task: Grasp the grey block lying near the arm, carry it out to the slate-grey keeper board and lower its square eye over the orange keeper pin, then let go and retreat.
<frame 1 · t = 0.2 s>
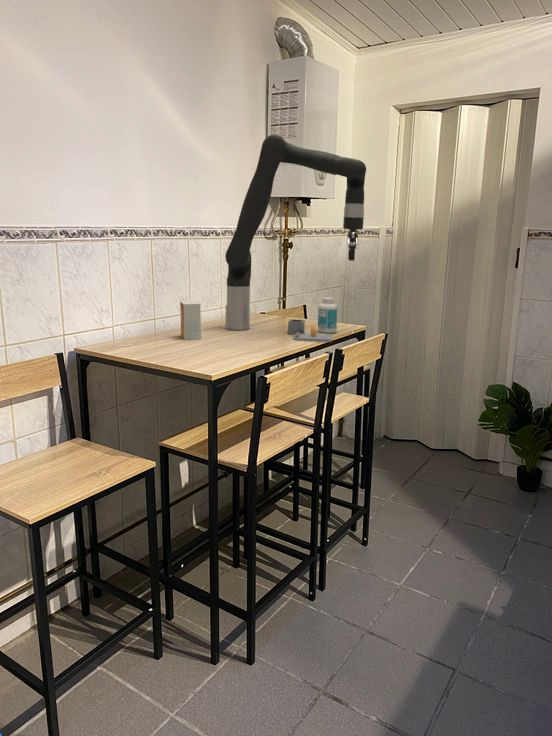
hand: (351, 259, 222), 28 cm above the table, fingers open, 8 cm apart
small box: (190, 337, 214), on the table
pill bottle: (326, 332, 230), on the table
grey block: (296, 333, 225), on the table
keeper: (313, 338, 215), on the table
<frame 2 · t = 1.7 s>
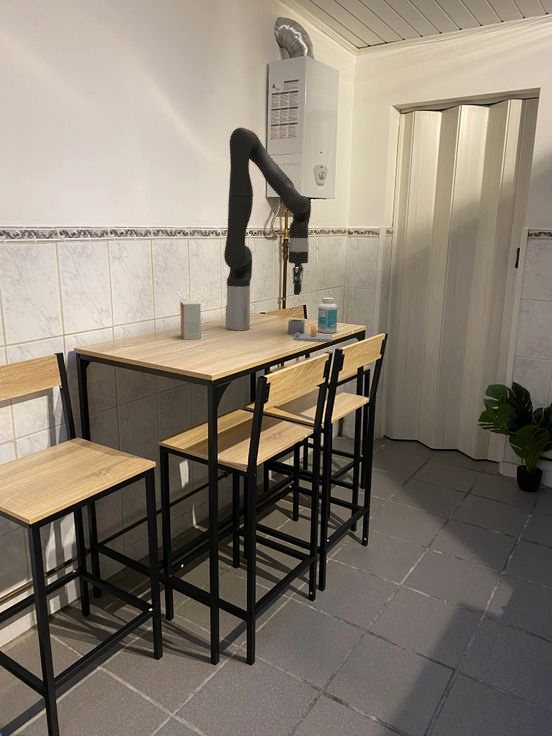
hand: (297, 293, 222), 16 cm above the table, fingers open, 8 cm apart
nothing on the table moved.
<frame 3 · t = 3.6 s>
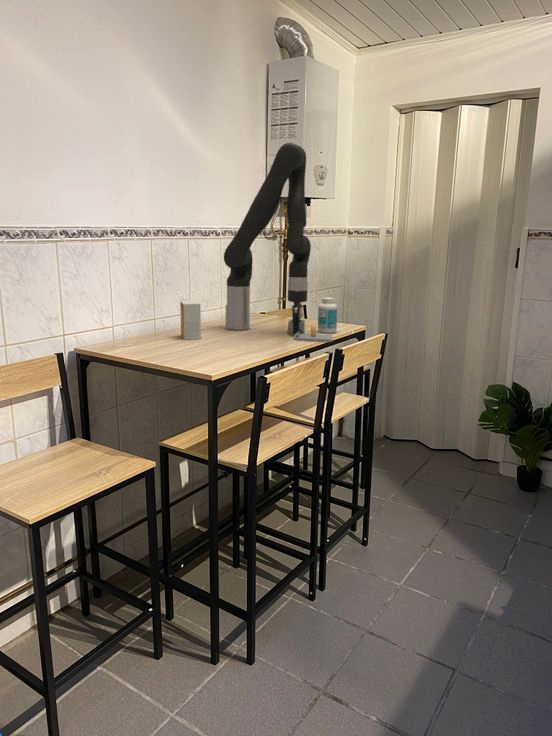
hand: (296, 331, 225), 1 cm above the table, fingers closed on grey block, 6 cm apart
grey block: (296, 333, 225), on the table, touching gripper
everything else where it was.
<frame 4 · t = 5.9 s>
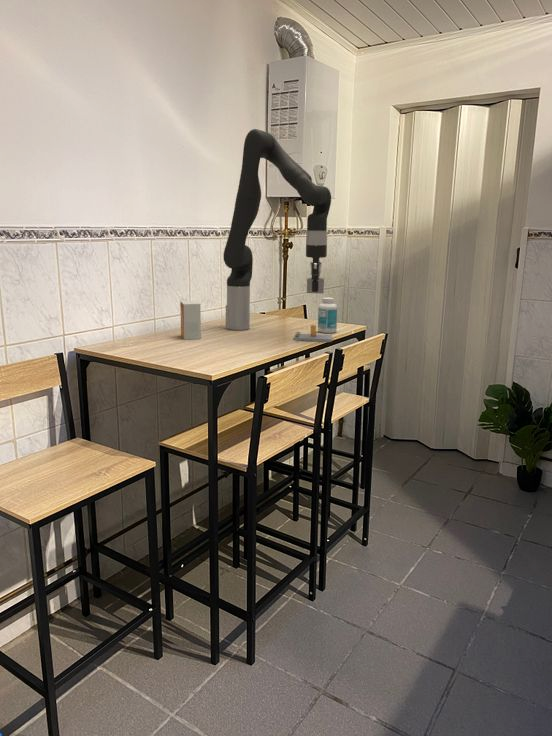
hand: (315, 290, 211), 18 cm above the table, fingers closed on grey block, 6 cm apart
grey block: (315, 292, 211), point 17 cm above the table, touching gripper
everything else where it was.
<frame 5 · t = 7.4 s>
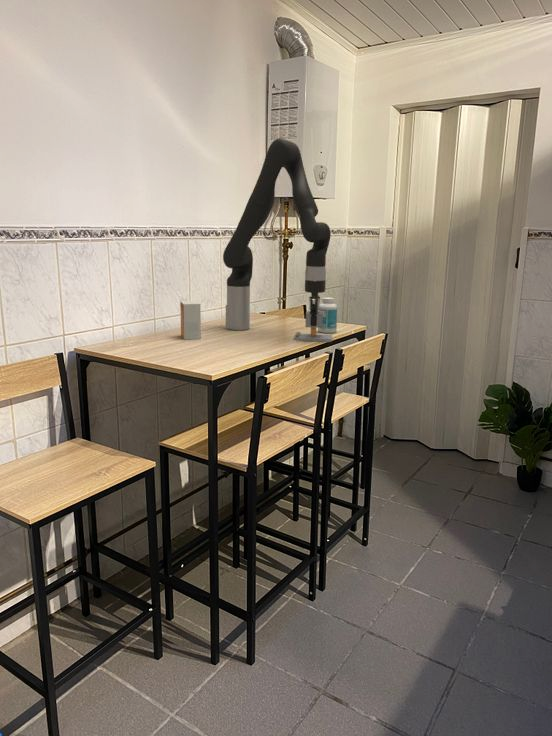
hand: (313, 324, 214), 6 cm above the table, fingers closed on grey block, 6 cm apart
grey block: (313, 326, 214), point 5 cm above the table, touching gripper
everything else where it was.
when the fingers open (3 cm above the table, at t = 8.5 s): grey block stays where it is, resting on keeper.
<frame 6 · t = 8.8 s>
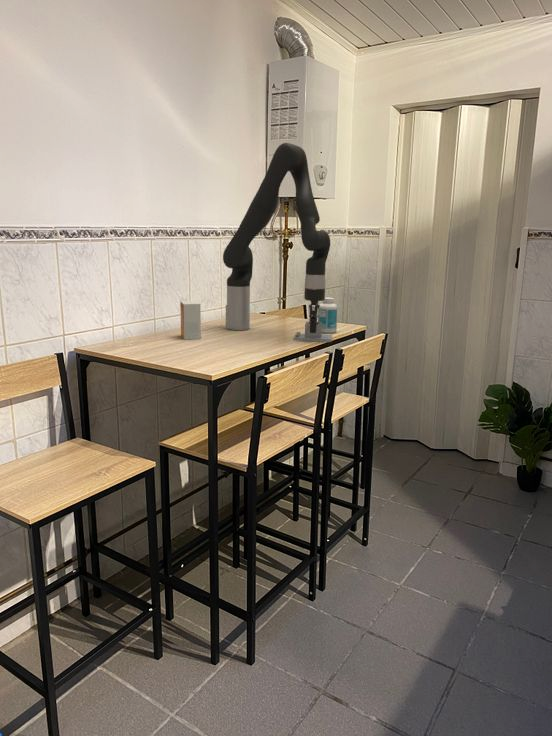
hand: (313, 330, 214), 3 cm above the table, fingers open, 8 cm apart
grey block: (313, 336, 215), point 1 cm above the table, touching keeper
everything else where it was.
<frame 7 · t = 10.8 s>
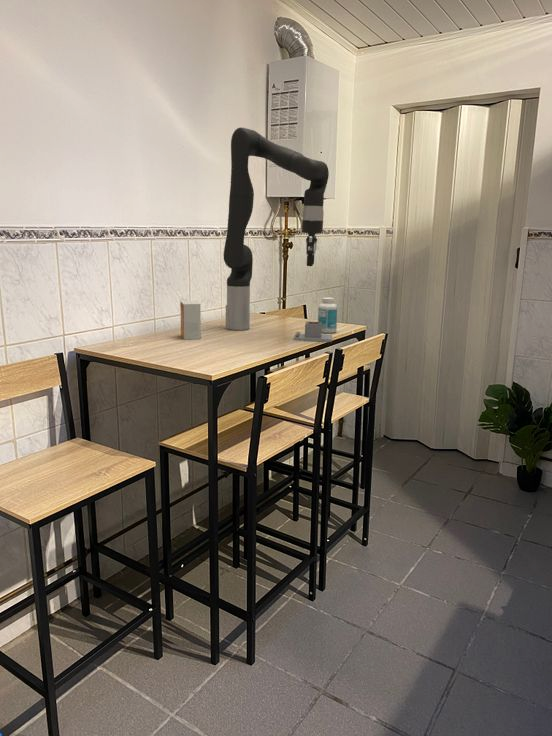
hand: (310, 265, 210), 27 cm above the table, fingers open, 8 cm apart
nothing on the table moved.
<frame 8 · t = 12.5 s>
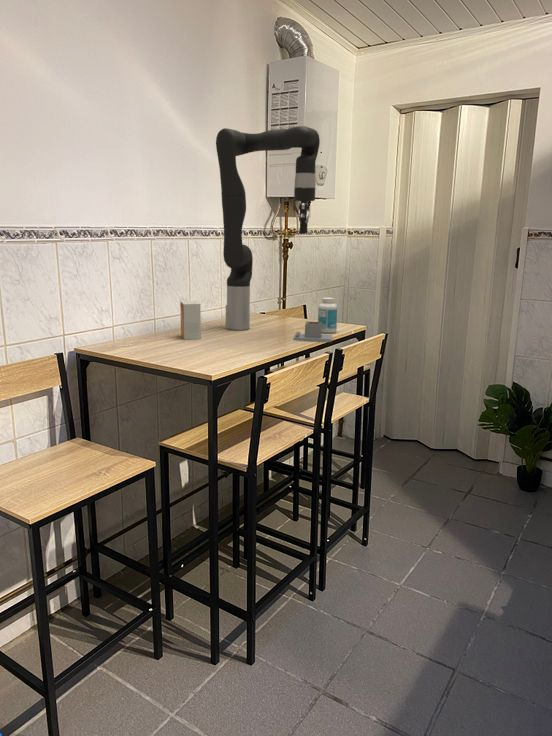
hand: (303, 233, 210), 38 cm above the table, fingers open, 8 cm apart
nothing on the table moved.
at the end: grey block 0.1 cm off-centre on the keeper, point 1.0 cm above the keeper's base; the gripper is holding nothing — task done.
